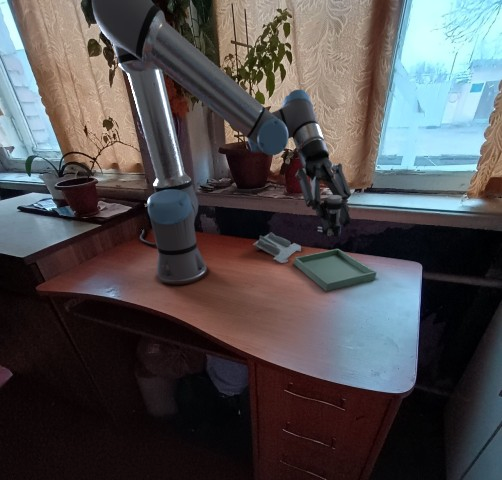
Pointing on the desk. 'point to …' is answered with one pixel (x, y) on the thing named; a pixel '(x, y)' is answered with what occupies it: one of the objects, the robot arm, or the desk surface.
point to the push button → (333, 214)
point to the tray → (334, 269)
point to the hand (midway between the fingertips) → (337, 226)
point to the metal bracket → (277, 247)
